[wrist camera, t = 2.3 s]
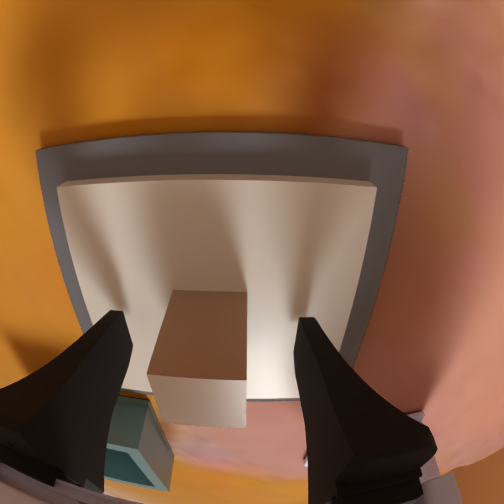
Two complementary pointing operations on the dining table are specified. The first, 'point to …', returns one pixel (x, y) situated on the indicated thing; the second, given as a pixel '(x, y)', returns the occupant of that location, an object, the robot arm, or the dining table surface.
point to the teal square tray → (137, 446)
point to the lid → (217, 278)
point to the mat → (236, 162)
